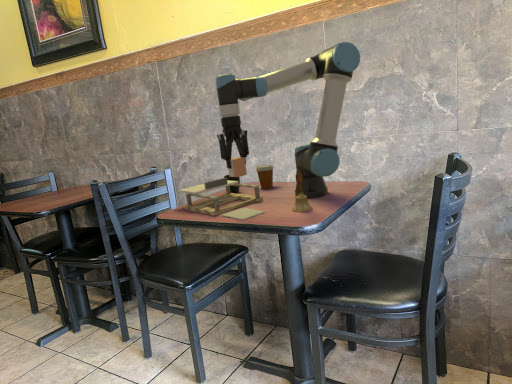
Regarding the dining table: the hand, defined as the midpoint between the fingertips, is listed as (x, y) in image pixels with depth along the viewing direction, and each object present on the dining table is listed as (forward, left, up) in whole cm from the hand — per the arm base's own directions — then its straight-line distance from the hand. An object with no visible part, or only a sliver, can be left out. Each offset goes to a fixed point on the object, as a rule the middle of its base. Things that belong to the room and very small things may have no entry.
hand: (237, 174), depth 148 cm
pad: (0, 0, -16) cm, 16 cm away
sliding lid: (+34, -7, -9) cm, 35 cm away
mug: (+42, -28, -17) cm, 53 cm away
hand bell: (-18, -16, -17) cm, 29 cm away
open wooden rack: (+23, -7, -16) cm, 29 cm away
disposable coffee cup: (+31, -42, -17) cm, 55 cm away
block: (0, 0, 0) cm, 0 cm away
